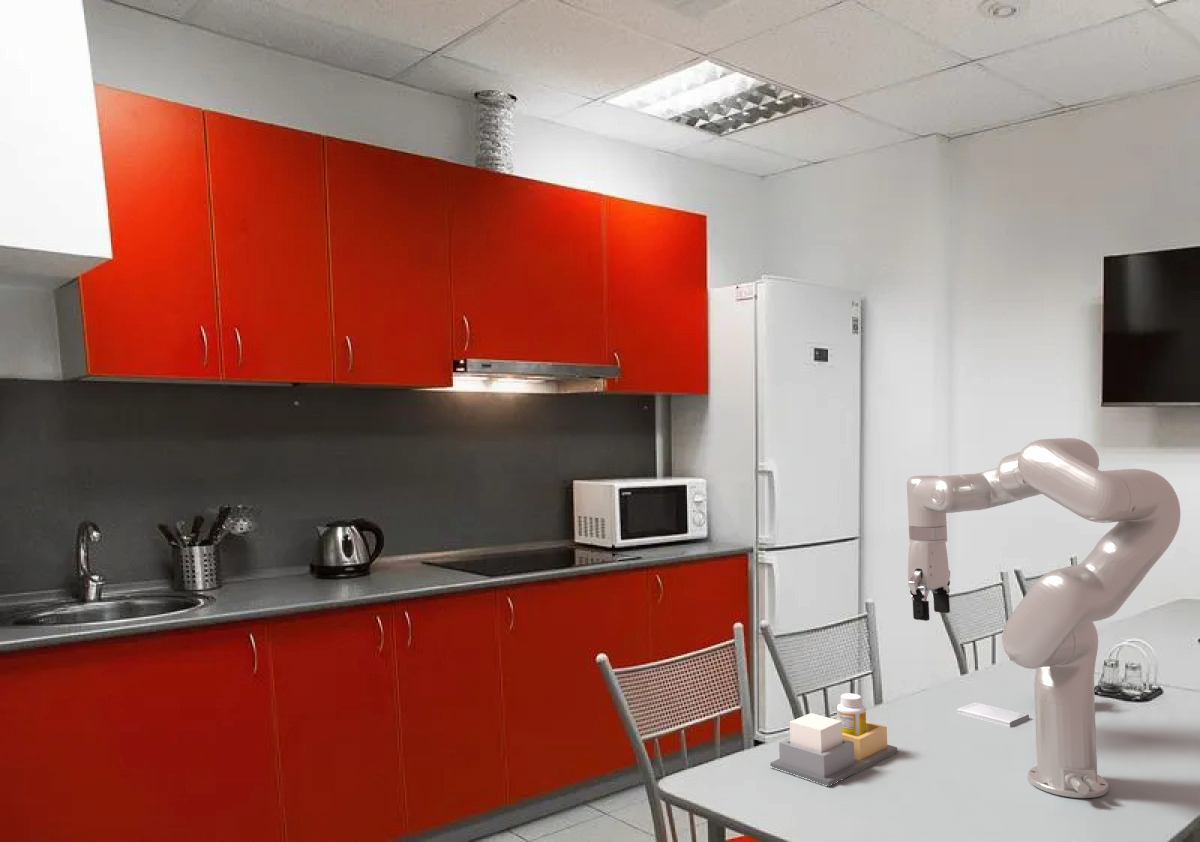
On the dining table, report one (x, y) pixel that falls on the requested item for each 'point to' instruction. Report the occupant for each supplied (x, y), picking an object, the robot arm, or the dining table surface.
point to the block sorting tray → (830, 749)
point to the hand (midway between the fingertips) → (931, 615)
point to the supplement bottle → (852, 714)
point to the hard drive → (992, 714)
